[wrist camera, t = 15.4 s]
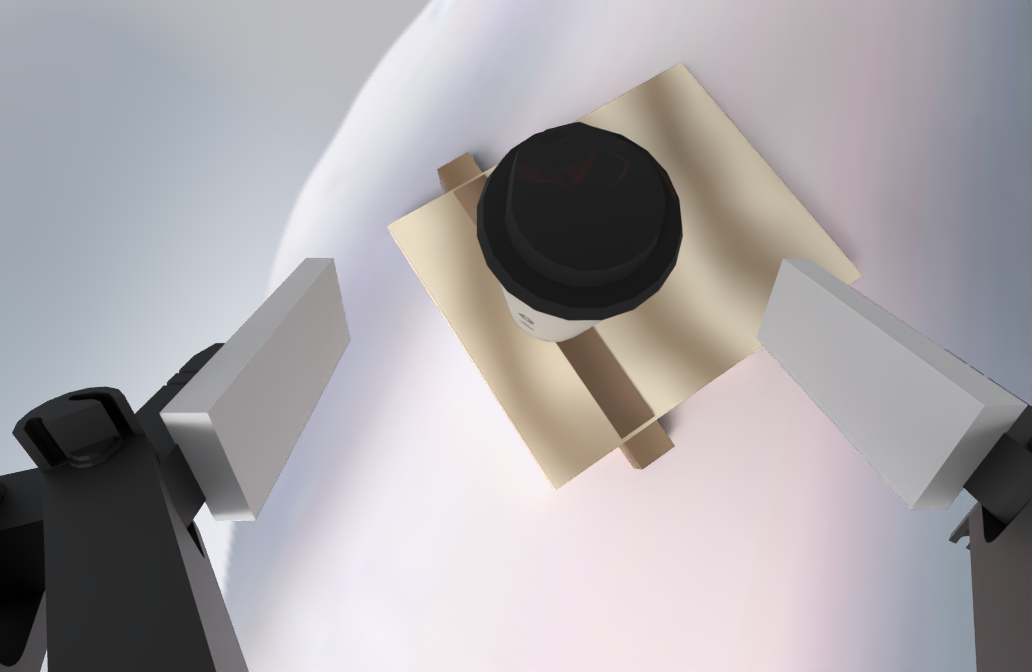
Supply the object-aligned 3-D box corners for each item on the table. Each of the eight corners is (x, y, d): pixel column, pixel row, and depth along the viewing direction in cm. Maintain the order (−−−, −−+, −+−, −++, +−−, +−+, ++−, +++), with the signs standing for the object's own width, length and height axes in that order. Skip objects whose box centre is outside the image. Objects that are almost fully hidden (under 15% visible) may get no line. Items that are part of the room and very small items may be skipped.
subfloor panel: (657, 64, 29) (666, 42, 28) (860, 306, 26) (883, 297, 24) (380, 217, 26) (372, 203, 24) (569, 513, 23) (574, 518, 21)
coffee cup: (644, 326, 23) (746, 243, 14) (524, 390, 22) (542, 350, 13) (577, 215, 25) (626, 67, 15) (461, 271, 24) (433, 152, 14)
